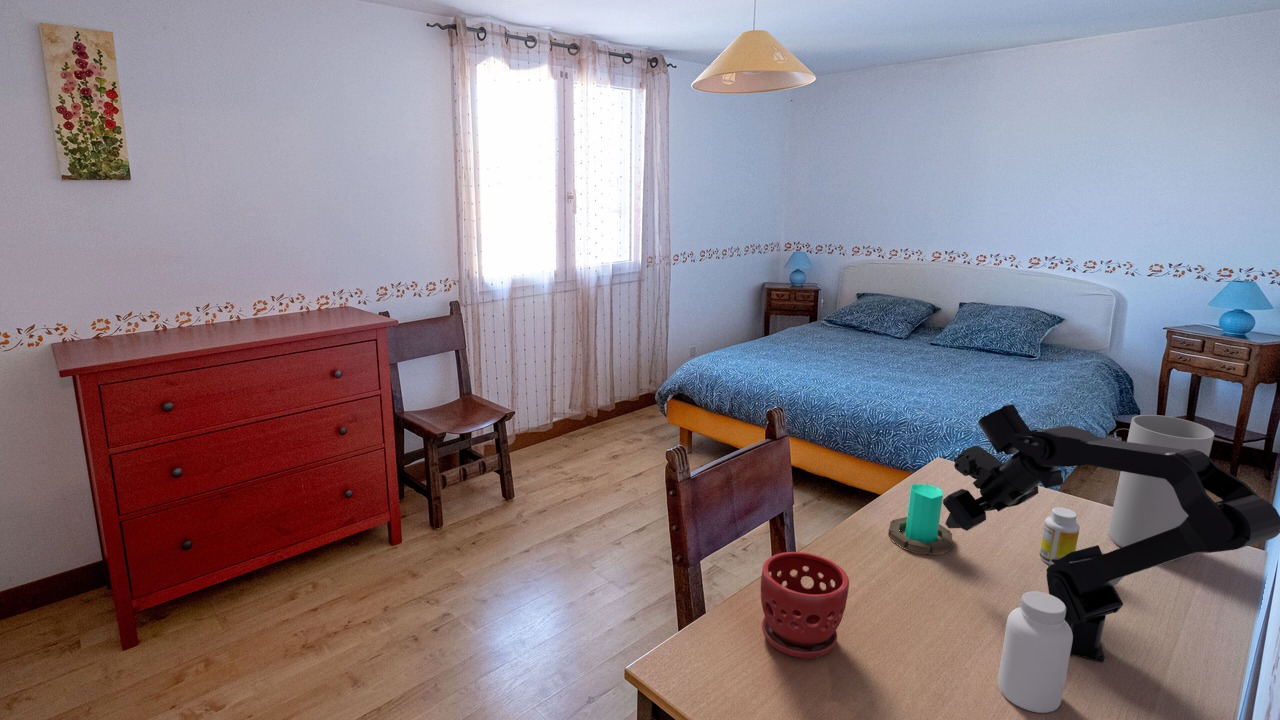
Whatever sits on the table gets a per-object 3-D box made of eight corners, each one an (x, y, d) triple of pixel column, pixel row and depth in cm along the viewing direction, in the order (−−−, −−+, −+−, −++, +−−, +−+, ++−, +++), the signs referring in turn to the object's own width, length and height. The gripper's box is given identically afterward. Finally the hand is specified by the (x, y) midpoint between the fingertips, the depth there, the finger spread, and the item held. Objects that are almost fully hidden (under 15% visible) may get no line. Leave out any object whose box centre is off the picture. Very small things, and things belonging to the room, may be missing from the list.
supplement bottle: (1077, 562, 131) (1087, 513, 128) (1065, 572, 128) (1075, 522, 125) (1045, 549, 135) (1054, 502, 132) (1033, 559, 132) (1042, 511, 129)
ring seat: (951, 560, 131) (953, 553, 131) (885, 546, 136) (886, 539, 136) (952, 531, 142) (953, 524, 142) (890, 519, 147) (891, 512, 146)
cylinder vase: (1188, 568, 129) (1219, 444, 122) (1108, 549, 135) (1133, 430, 128) (1180, 539, 139) (1208, 422, 132) (1106, 522, 146) (1129, 410, 139)
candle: (901, 539, 138) (907, 484, 135) (909, 526, 143) (915, 473, 139) (932, 548, 135) (940, 492, 131) (940, 535, 139) (947, 481, 136)
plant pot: (840, 675, 102) (847, 604, 99) (751, 655, 106) (755, 586, 103) (845, 621, 114) (851, 557, 111) (764, 605, 118) (768, 542, 115)
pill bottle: (1003, 666, 104) (1018, 578, 100) (1064, 691, 99) (1083, 599, 95) (989, 696, 98) (1005, 604, 94) (1054, 724, 93) (1074, 628, 89)
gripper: (1018, 422, 124) (968, 466, 136) (948, 452, 116) (901, 496, 128) (1065, 474, 118) (1008, 515, 130) (994, 509, 110) (940, 549, 122)
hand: (964, 517), depth 128 cm, fingers open, 9 cm apart
